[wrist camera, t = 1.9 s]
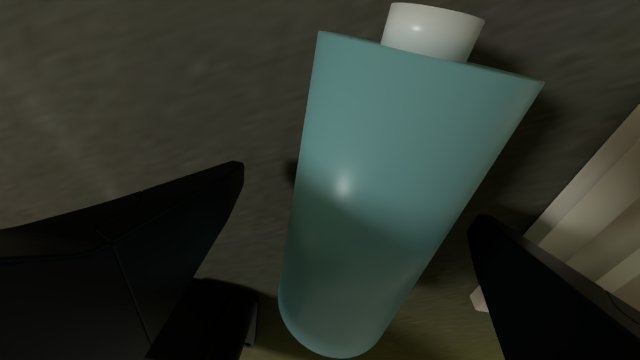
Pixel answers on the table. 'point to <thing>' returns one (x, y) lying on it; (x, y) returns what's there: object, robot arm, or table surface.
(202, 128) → the table surface
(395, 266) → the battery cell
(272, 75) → the table surface
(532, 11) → the table surface
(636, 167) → the wooden tray
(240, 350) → the robot arm
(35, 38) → the table surface
